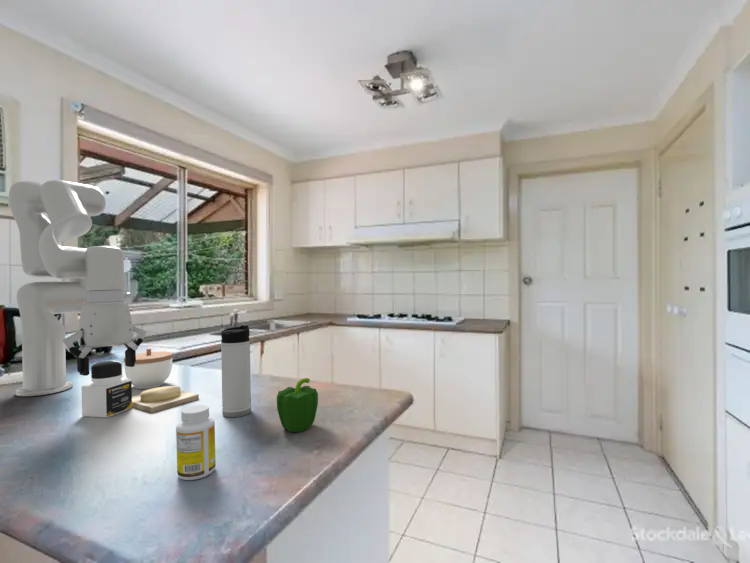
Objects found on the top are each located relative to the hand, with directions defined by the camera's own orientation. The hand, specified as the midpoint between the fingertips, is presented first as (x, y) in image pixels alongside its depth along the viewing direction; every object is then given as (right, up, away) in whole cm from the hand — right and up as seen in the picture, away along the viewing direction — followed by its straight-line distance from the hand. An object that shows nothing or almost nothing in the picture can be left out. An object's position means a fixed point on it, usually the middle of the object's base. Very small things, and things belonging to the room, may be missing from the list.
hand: (108, 370), depth 91 cm
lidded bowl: (-4, -10, +24) cm, 27 cm away
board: (+8, -10, +8) cm, 15 cm away
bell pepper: (+47, -9, -12) cm, 50 cm away
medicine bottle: (0, -10, 0) cm, 10 cm away
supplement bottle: (+35, -10, -30) cm, 47 cm away
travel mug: (+31, -10, -2) cm, 33 cm away
